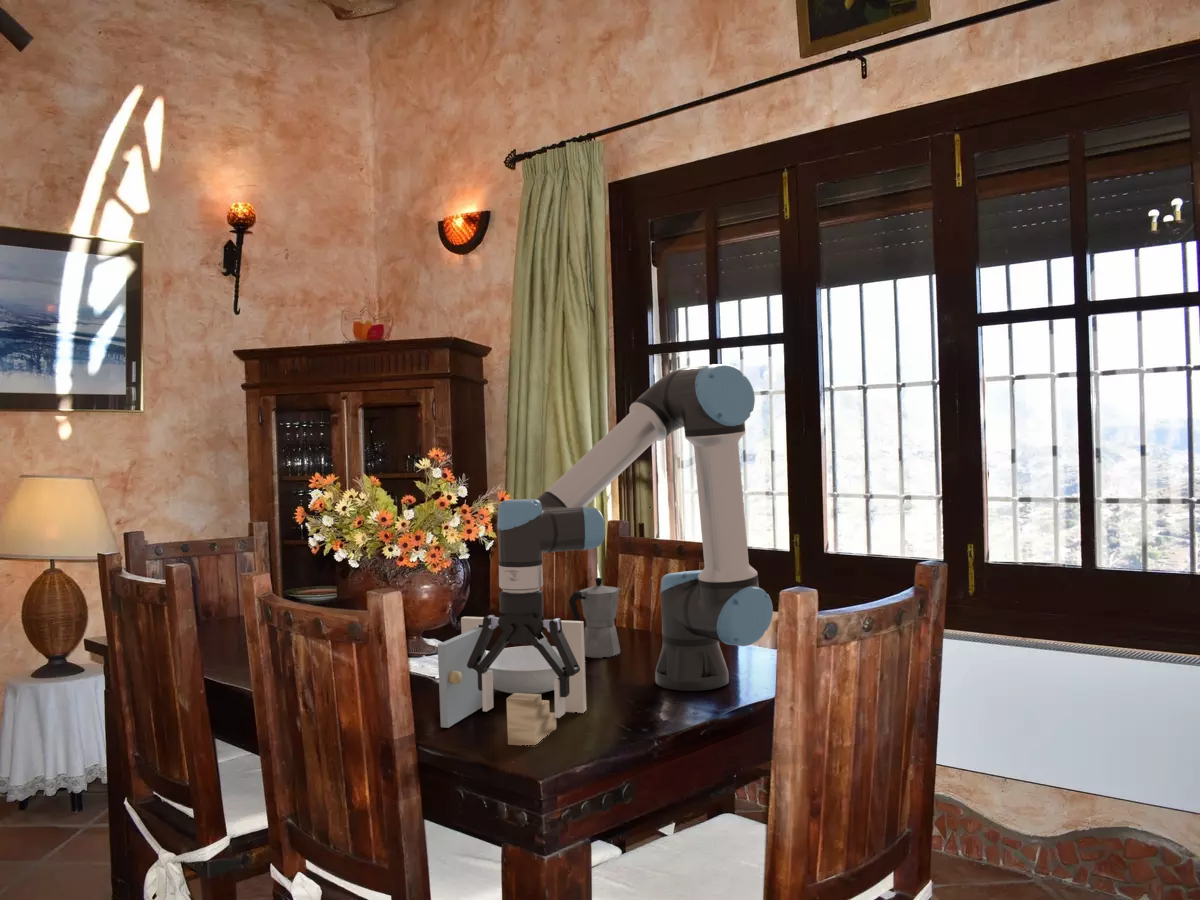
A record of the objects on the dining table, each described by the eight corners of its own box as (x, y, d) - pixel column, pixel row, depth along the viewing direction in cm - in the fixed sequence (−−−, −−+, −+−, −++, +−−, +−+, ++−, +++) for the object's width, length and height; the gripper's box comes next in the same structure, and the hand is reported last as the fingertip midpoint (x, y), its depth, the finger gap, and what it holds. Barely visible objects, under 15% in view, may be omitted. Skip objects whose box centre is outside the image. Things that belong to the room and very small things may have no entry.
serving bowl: (487, 709, 188) (486, 673, 188) (472, 682, 208) (471, 650, 208) (591, 697, 194) (590, 663, 193) (567, 672, 214) (565, 641, 214)
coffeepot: (609, 646, 238) (607, 572, 238) (635, 652, 231) (632, 576, 231) (559, 656, 229) (556, 580, 228) (584, 663, 221) (581, 584, 221)
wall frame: (586, 710, 184) (583, 621, 184) (583, 713, 183) (580, 622, 182) (467, 702, 193) (464, 616, 193) (464, 704, 191) (460, 618, 191)
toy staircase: (530, 727, 176) (529, 683, 175) (556, 729, 174) (555, 684, 174) (508, 745, 166) (506, 698, 166) (535, 747, 165) (533, 700, 164)
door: (456, 728, 175) (452, 645, 175) (440, 727, 176) (437, 644, 176) (496, 703, 190) (493, 626, 190) (482, 702, 191) (479, 626, 191)
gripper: (446, 590, 168) (448, 712, 169) (580, 595, 160) (583, 724, 160) (466, 583, 175) (469, 701, 176) (596, 588, 167) (599, 712, 167)
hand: (523, 712), depth 168 cm, fingers open, 13 cm apart
